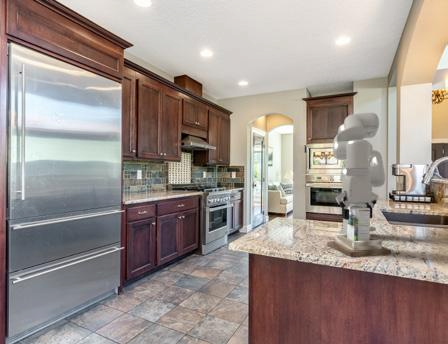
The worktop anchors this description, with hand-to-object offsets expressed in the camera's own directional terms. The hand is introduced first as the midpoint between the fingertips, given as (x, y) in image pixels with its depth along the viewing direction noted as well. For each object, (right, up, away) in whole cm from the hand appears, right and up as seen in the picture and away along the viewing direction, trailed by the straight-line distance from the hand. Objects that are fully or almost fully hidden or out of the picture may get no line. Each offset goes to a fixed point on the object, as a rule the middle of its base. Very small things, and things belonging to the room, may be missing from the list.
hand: (357, 218), depth 99 cm
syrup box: (0, -10, 0) cm, 10 cm away
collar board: (0, -12, -1) cm, 12 cm away
